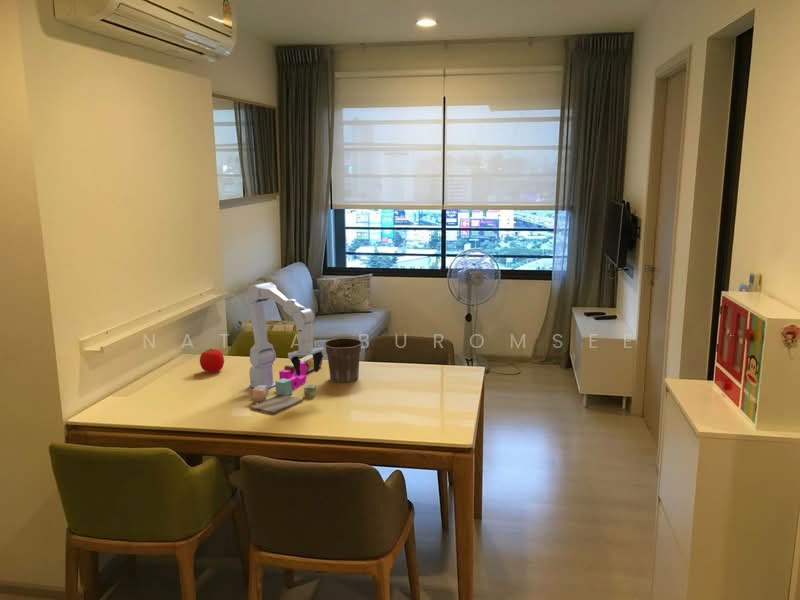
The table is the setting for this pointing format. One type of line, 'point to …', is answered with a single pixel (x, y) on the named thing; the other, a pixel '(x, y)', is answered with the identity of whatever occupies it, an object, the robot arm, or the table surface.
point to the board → (276, 404)
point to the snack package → (307, 359)
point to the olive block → (310, 390)
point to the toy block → (295, 376)
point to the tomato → (212, 360)
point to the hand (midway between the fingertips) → (307, 373)
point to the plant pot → (343, 358)
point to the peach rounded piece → (259, 394)
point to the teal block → (283, 387)
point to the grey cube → (263, 387)
